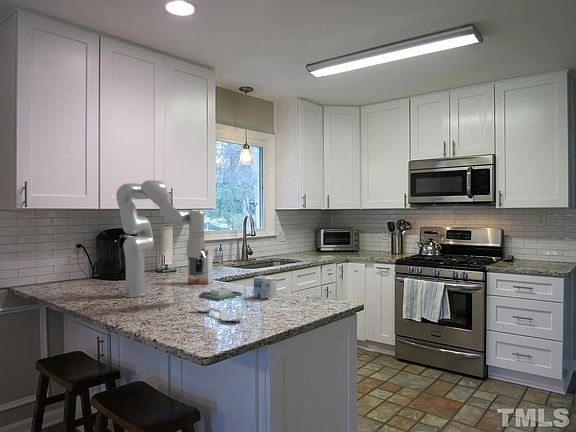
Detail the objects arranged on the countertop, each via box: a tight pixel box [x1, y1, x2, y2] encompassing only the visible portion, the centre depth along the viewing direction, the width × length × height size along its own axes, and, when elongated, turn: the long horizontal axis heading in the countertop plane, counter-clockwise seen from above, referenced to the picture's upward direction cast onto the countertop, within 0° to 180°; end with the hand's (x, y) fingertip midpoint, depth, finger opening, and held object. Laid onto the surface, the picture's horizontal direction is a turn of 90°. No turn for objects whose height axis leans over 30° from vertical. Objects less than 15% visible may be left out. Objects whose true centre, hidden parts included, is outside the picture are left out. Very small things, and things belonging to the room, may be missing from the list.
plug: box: [189, 257, 203, 276], centre depth 220 cm, size 6×4×9 cm, turn 140°
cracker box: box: [187, 249, 213, 285], centre depth 268 cm, size 14×6×21 cm, turn 73°
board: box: [198, 286, 243, 301], centre depth 231 cm, size 16×16×4 cm
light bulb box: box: [253, 275, 278, 299], centre depth 228 cm, size 11×7×11 cm, turn 62°
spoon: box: [190, 302, 244, 322], centre depth 191 cm, size 9×32×4 cm, turn 42°
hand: (196, 270), depth 220 cm, fingers closed on plug, 4 cm apart
